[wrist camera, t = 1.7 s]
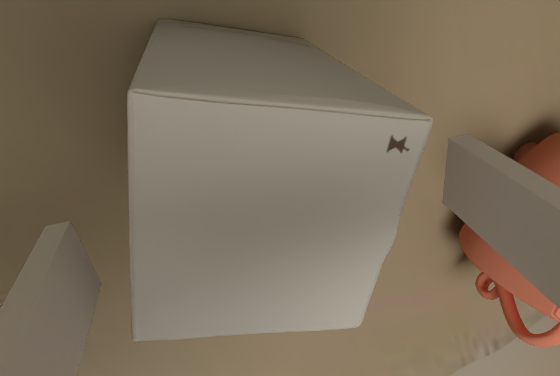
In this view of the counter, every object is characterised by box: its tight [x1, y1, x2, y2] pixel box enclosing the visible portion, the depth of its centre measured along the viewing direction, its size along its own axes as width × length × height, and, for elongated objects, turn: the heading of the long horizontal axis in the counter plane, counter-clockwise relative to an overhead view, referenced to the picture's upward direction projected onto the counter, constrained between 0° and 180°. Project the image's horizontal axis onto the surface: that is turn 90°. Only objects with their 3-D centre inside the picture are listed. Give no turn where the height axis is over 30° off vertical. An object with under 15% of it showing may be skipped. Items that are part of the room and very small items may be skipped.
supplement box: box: [127, 19, 433, 342], centre depth 19 cm, size 9×9×15 cm
